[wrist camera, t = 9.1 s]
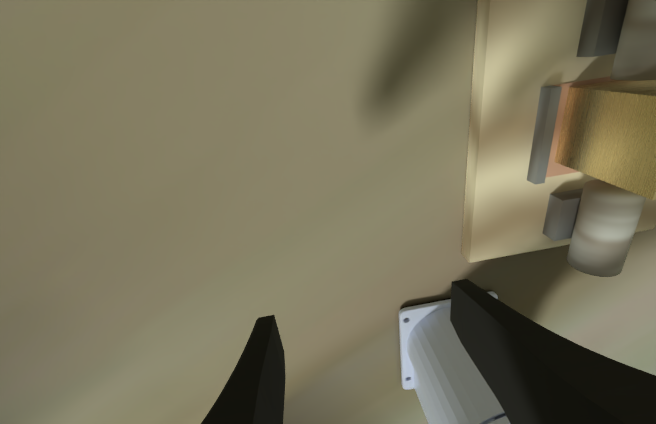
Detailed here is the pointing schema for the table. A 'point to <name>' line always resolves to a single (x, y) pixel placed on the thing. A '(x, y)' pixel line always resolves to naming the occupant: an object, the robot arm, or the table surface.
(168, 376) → the table surface
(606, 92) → the coupler
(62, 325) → the table surface
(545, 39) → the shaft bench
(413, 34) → the table surface
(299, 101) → the table surface
